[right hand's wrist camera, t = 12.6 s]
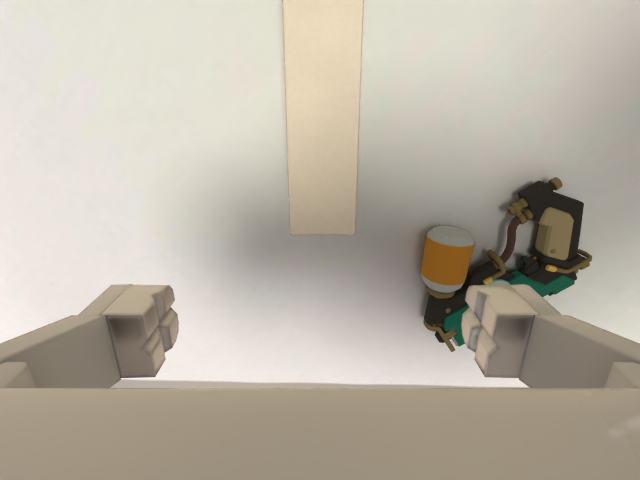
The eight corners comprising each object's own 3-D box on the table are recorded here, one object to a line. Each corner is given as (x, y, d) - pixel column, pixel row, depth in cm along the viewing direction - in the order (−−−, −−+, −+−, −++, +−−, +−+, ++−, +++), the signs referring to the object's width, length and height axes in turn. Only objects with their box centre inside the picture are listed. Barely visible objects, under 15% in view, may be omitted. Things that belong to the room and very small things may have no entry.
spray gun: (566, 164, 34) (574, 295, 40) (393, 220, 35) (425, 341, 41) (602, 173, 30) (605, 318, 36) (406, 237, 31) (439, 368, 37)
